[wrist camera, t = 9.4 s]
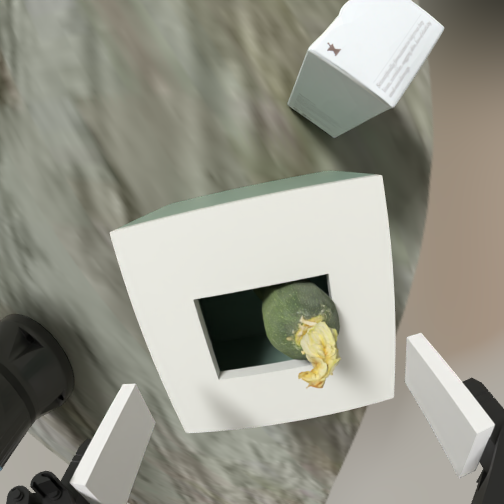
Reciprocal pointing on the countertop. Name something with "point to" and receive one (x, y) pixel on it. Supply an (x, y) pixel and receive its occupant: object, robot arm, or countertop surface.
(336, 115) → the skincare box
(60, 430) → the countertop surface
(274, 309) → the vegetable
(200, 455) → the countertop surface
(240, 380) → the box
